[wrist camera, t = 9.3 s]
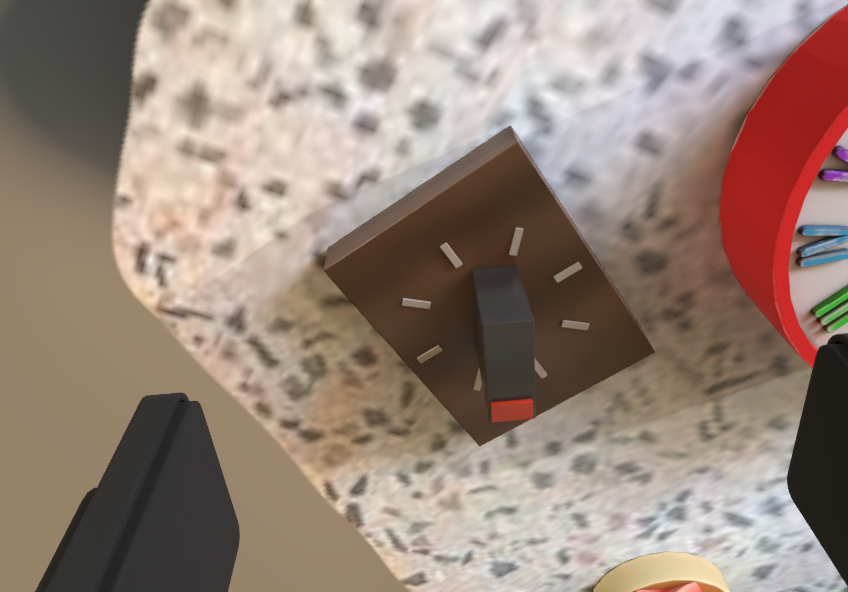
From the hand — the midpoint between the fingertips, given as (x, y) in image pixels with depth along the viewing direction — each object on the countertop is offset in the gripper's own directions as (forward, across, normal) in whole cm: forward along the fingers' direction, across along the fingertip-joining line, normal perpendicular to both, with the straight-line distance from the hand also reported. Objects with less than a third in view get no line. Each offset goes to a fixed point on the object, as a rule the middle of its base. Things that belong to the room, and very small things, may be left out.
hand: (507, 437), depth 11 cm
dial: (+22, -2, +12) cm, 25 cm away
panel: (+24, -2, +12) cm, 27 cm away
